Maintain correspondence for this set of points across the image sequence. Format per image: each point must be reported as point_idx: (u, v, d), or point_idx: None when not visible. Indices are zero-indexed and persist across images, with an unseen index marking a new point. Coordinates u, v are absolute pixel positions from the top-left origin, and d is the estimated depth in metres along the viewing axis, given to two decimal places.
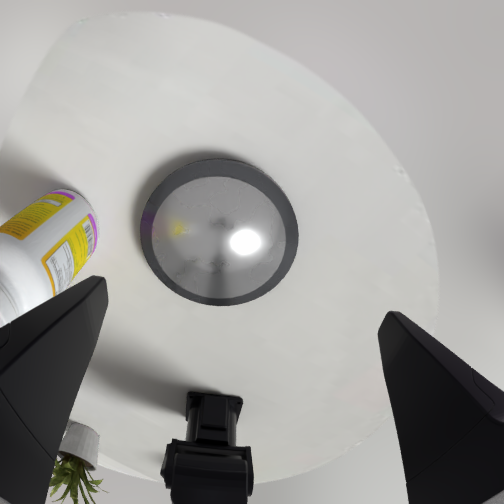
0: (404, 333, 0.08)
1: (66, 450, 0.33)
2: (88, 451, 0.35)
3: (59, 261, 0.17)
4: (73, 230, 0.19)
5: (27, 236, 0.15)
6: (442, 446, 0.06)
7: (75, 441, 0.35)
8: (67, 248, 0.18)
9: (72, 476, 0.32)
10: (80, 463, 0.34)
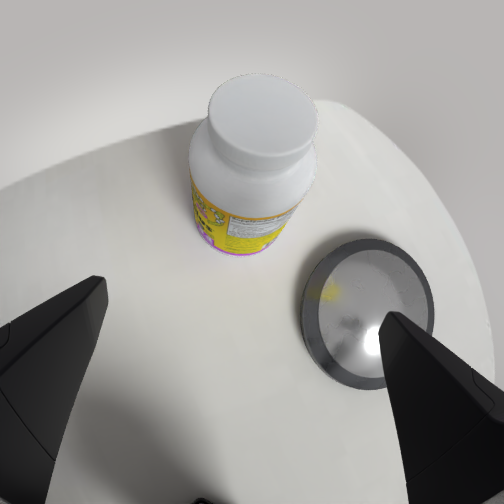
0: (404, 333, 0.08)
1: None
2: None
3: None
4: None
5: None
6: (442, 446, 0.06)
7: None
8: None
9: None
10: None
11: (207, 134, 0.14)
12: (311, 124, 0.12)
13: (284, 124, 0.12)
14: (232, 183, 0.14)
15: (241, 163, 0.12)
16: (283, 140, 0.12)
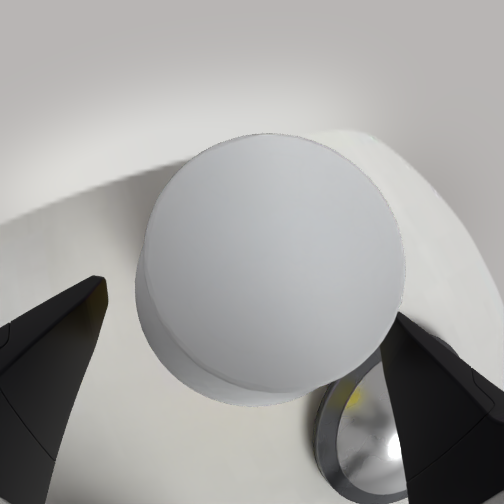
0: (404, 333, 0.08)
1: None
2: None
3: None
4: None
5: None
6: (442, 445, 0.06)
7: None
8: None
9: None
10: None
11: None
12: (392, 284, 0.05)
13: (334, 295, 0.05)
14: (215, 375, 0.07)
15: None
16: (331, 345, 0.05)
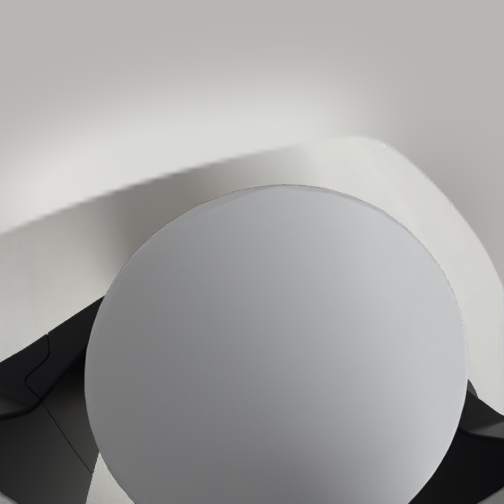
0: None
1: None
2: None
3: None
4: None
5: None
6: None
7: None
8: None
9: None
10: None
11: None
12: (448, 416, 0.03)
13: (374, 449, 0.03)
14: None
15: None
16: None
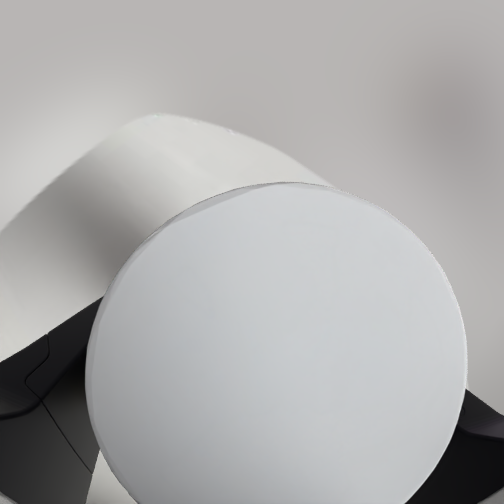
0: None
1: None
2: None
3: None
4: None
5: None
6: None
7: None
8: None
9: None
10: None
11: None
12: (448, 412, 0.03)
13: (372, 447, 0.03)
14: None
15: None
16: None
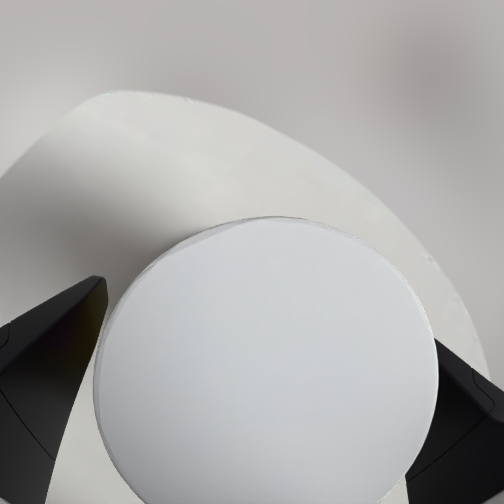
0: None
1: None
2: None
3: None
4: None
5: None
6: (442, 445, 0.06)
7: None
8: None
9: None
10: None
11: None
12: (418, 424, 0.03)
13: (344, 453, 0.03)
14: None
15: None
16: (333, 503, 0.03)
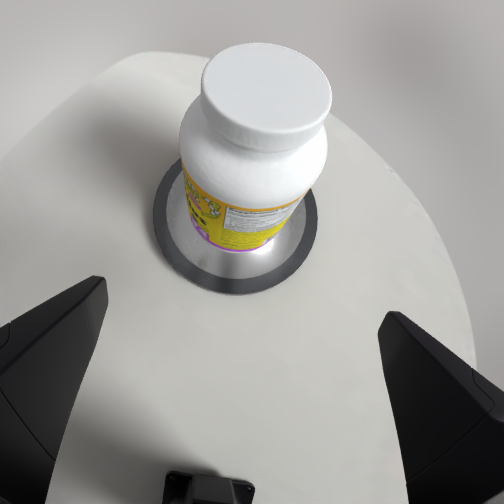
0: (404, 333, 0.08)
1: None
2: None
3: None
4: None
5: None
6: (442, 445, 0.06)
7: None
8: None
9: None
10: None
11: (201, 112, 0.12)
12: (323, 98, 0.10)
13: (292, 97, 0.10)
14: (229, 167, 0.11)
15: (240, 142, 0.10)
16: (291, 115, 0.09)
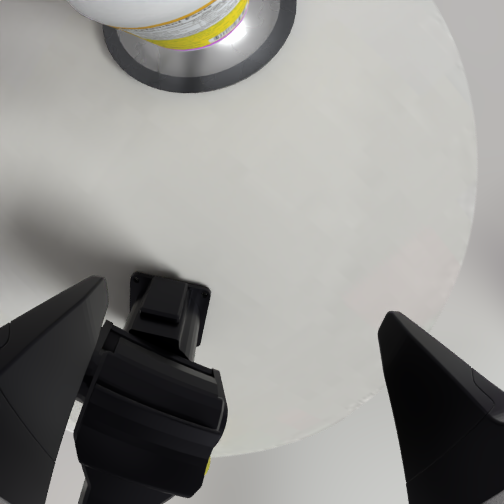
0: (404, 333, 0.08)
1: None
2: None
3: None
4: None
5: None
6: (441, 445, 0.06)
7: None
8: None
9: None
10: None
11: None
12: None
13: None
14: None
15: None
16: None
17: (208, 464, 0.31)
